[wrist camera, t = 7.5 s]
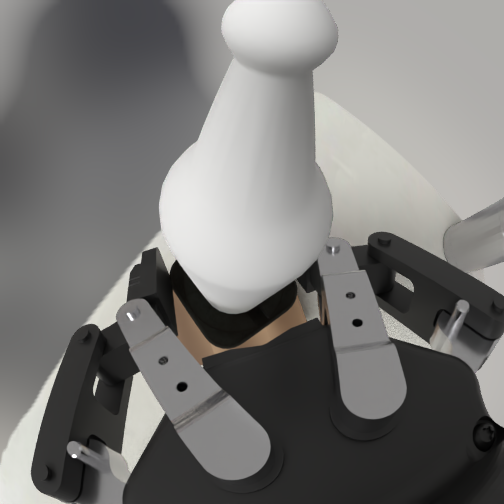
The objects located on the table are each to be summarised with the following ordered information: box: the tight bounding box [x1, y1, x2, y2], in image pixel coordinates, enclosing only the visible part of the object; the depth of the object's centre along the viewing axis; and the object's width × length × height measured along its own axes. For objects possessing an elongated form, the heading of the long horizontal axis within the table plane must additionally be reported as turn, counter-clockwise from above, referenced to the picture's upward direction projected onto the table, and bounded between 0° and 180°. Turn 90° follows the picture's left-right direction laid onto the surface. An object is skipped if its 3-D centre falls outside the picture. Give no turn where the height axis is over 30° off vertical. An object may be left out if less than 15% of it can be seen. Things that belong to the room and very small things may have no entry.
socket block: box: [169, 275, 307, 365], centre depth 33 cm, size 16×11×4 cm
